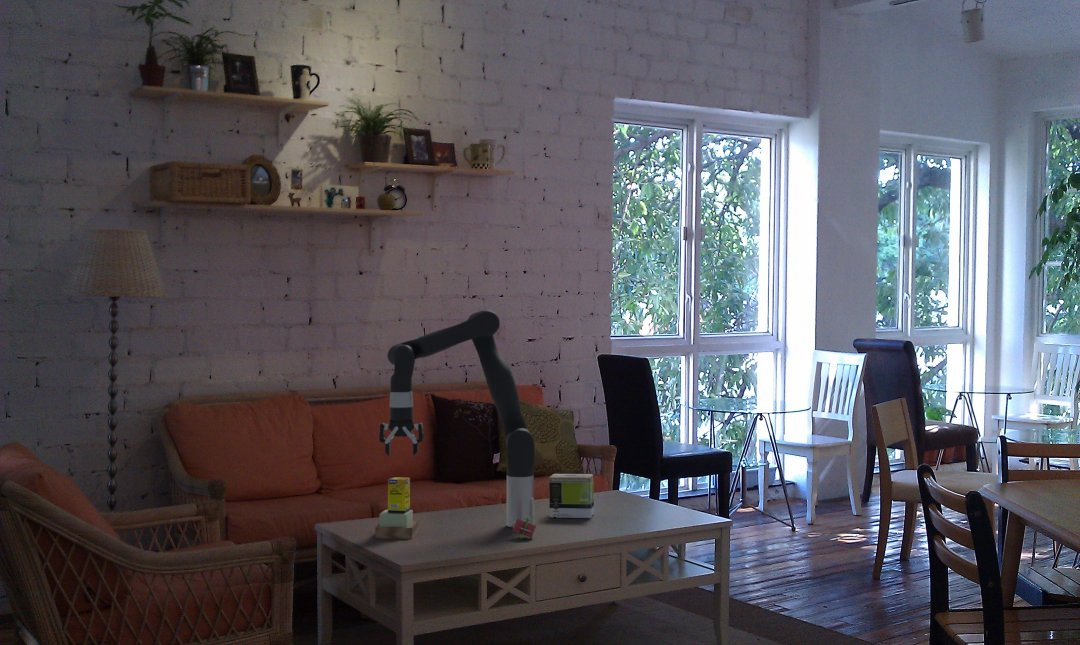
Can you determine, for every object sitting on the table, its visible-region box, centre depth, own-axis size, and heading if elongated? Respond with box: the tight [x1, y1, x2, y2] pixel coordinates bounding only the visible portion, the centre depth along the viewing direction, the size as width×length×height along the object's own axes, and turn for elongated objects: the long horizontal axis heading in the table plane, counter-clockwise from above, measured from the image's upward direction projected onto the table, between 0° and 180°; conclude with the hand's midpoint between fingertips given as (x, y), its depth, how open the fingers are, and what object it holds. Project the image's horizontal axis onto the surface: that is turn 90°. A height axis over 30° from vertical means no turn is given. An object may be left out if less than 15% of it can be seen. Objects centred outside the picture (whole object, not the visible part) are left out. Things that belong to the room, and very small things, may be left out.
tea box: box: [548, 473, 595, 519], centre depth 387 cm, size 15×10×15 cm
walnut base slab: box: [374, 520, 419, 540], centre depth 353 cm, size 12×12×4 cm
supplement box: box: [387, 476, 411, 513], centre depth 353 cm, size 6×6×11 cm
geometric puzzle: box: [512, 518, 537, 540], centre depth 347 cm, size 7×7×8 cm
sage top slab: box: [379, 509, 414, 527], centre depth 353 cm, size 9×9×4 cm
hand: (401, 455), depth 353 cm, fingers open, 8 cm apart
